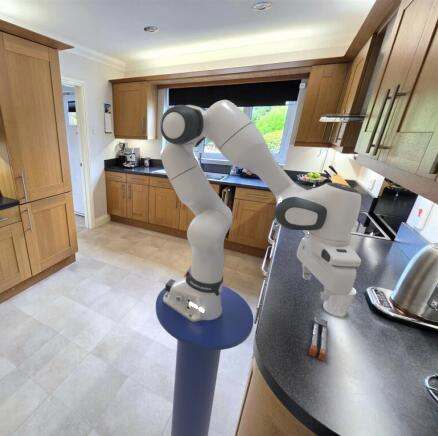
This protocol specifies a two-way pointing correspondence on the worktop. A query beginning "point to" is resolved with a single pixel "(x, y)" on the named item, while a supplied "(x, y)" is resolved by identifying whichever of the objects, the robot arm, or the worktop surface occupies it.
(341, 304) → the white cup
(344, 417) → the worktop surface
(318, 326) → the tongs
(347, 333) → the worktop surface
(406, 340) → the worktop surface
